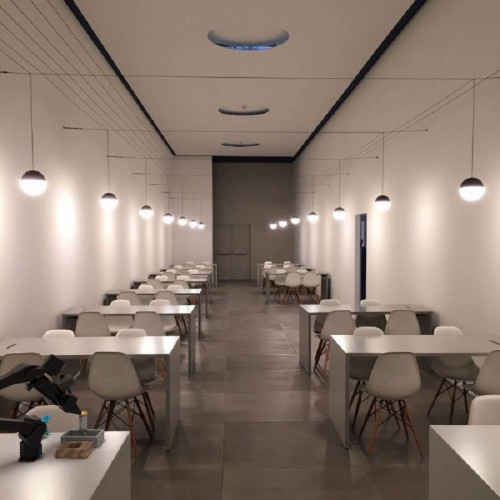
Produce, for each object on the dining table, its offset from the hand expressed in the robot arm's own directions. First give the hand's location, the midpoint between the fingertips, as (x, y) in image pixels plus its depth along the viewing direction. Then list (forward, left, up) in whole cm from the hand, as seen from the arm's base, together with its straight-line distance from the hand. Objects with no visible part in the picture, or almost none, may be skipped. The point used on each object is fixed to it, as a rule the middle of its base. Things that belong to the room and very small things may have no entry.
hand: (75, 410), depth 196 cm
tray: (+2, +2, -13) cm, 13 cm away
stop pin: (+2, +2, -12) cm, 12 cm away
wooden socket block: (+2, -8, -13) cm, 15 cm away
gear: (-18, +10, -13) cm, 25 cm away
